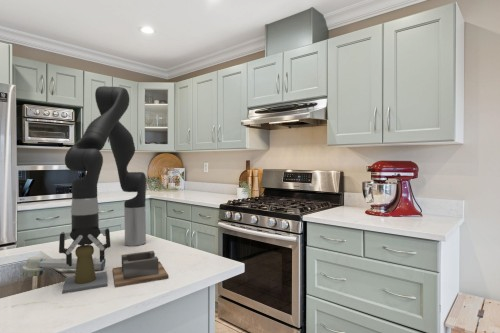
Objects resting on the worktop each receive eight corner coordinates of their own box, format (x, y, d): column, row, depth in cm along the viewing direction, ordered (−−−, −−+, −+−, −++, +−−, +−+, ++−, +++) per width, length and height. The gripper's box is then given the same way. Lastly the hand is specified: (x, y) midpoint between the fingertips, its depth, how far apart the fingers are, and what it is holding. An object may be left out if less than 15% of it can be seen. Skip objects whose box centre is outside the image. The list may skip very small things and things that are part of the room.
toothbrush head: (103, 260, 109) (21, 256, 103) (101, 279, 109) (18, 277, 103) (106, 256, 114) (28, 252, 108) (104, 274, 114) (25, 271, 108)
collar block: (112, 270, 109) (112, 253, 109) (159, 264, 116) (159, 247, 116) (115, 287, 95) (114, 267, 95) (168, 278, 102) (168, 260, 102)
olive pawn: (90, 283, 96) (90, 247, 96) (70, 284, 95) (69, 248, 95) (99, 276, 102) (98, 242, 102) (79, 277, 101) (79, 243, 101)
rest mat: (66, 279, 101) (65, 277, 101) (106, 273, 107) (106, 271, 107) (62, 293, 91) (62, 290, 91) (107, 286, 96) (107, 283, 96)
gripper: (109, 209, 105) (110, 257, 105) (60, 212, 99) (60, 263, 99) (110, 212, 98) (111, 263, 98) (57, 215, 92) (58, 270, 92)
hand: (85, 263), depth 99 cm, fingers open, 8 cm apart
